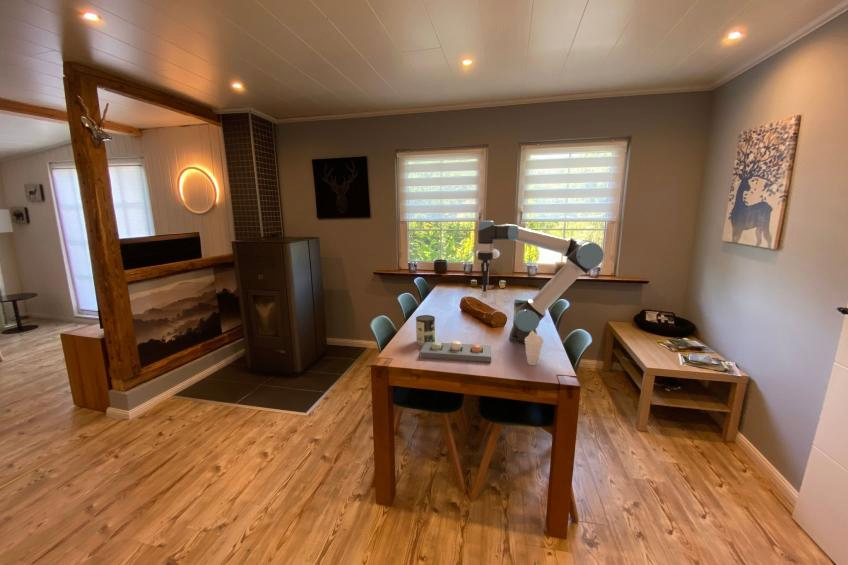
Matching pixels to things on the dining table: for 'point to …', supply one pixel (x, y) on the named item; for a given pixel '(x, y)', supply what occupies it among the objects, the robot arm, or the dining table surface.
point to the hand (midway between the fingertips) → (484, 297)
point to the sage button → (436, 346)
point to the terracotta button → (476, 348)
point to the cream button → (455, 346)
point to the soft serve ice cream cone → (533, 347)
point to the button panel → (456, 353)
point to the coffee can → (425, 329)
